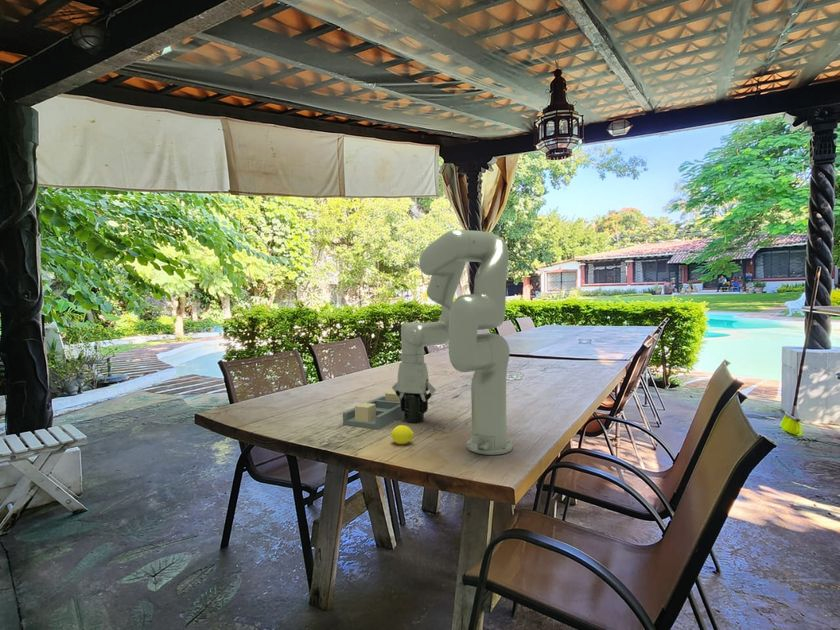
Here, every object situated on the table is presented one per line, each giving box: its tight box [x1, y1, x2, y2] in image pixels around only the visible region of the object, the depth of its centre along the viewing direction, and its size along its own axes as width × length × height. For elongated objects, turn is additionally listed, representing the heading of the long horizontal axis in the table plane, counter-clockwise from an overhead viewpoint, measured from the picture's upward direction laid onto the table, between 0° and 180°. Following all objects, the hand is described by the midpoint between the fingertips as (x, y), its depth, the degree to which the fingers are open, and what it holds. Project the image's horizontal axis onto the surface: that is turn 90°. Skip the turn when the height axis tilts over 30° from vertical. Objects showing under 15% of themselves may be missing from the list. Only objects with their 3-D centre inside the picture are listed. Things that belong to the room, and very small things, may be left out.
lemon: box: [390, 424, 415, 445], centre depth 128 cm, size 7×5×5 cm
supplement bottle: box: [403, 393, 425, 424], centre depth 151 cm, size 7×7×12 cm
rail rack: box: [342, 390, 404, 430], centre depth 156 cm, size 26×14×6 cm, turn 155°
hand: (414, 410), depth 151 cm, fingers closed on supplement bottle, 6 cm apart
